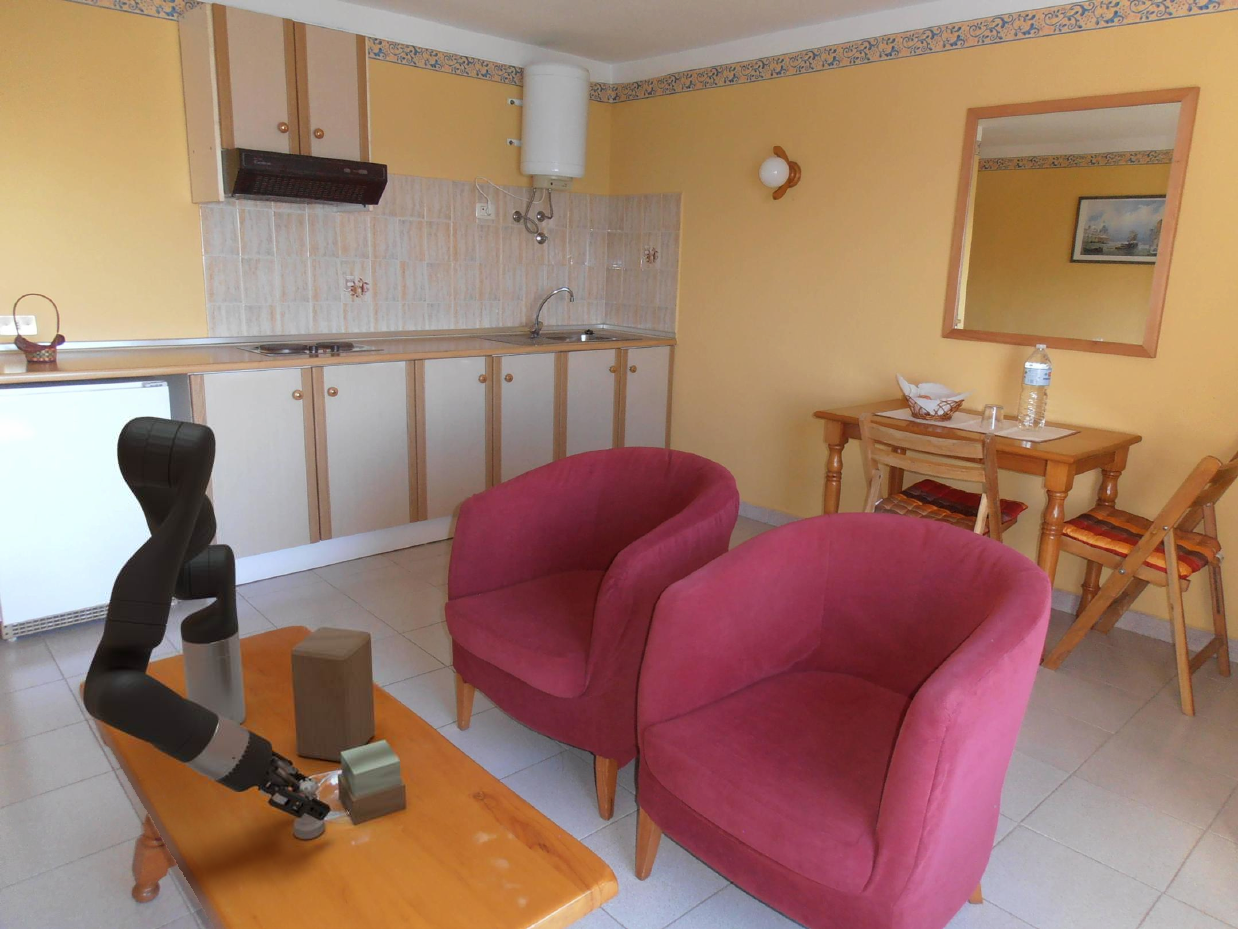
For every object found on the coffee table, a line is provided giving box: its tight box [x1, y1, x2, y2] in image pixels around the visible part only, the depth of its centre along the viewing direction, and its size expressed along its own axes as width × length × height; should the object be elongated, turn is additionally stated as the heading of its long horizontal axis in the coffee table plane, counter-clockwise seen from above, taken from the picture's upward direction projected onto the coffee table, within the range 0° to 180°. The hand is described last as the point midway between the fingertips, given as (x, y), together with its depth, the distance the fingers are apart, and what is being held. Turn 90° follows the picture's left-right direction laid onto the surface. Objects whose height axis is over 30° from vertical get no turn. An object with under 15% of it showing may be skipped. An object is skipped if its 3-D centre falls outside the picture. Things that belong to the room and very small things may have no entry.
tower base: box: [337, 739, 407, 826], centre depth 133 cm, size 8×8×8 cm
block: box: [290, 626, 376, 763], centre depth 147 cm, size 10×10×20 cm
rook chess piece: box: [293, 777, 326, 841], centre depth 126 cm, size 4×4×8 cm
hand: (319, 801), depth 127 cm, fingers open, 6 cm apart
